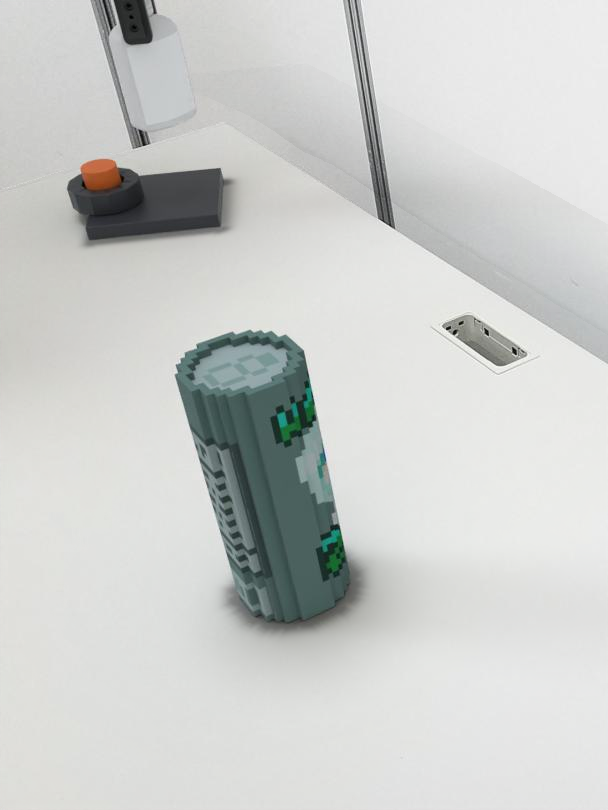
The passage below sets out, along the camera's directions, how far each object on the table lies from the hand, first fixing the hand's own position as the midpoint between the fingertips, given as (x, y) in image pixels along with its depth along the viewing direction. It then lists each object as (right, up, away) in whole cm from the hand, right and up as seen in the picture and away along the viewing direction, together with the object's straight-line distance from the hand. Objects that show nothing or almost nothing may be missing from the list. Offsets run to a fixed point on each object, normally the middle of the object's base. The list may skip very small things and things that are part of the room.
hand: (142, 31), depth 100 cm
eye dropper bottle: (0, -6, +5) cm, 8 cm away
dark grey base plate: (-2, -11, +10) cm, 15 cm away
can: (+19, -45, -28) cm, 57 cm away
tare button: (-6, -10, +7) cm, 14 cm away
